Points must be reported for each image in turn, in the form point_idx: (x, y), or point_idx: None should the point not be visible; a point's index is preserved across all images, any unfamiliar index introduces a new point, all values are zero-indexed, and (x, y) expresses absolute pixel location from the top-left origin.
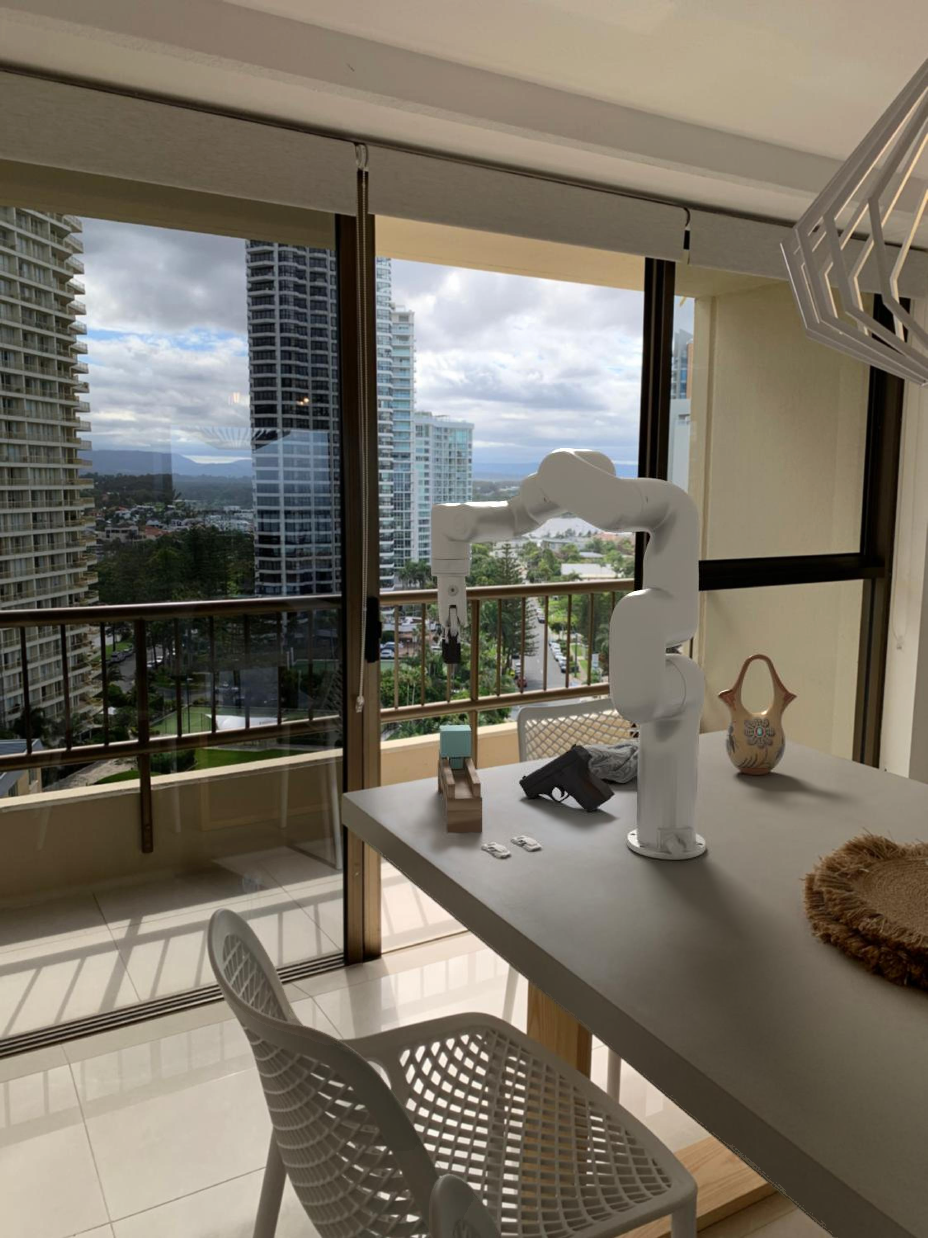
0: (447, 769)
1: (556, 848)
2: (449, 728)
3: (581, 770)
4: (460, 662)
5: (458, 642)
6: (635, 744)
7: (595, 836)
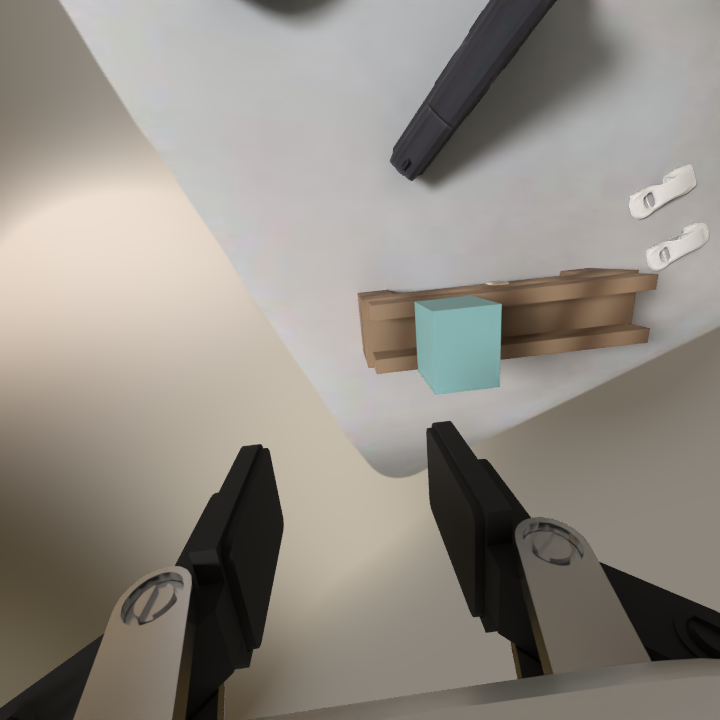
0: (546, 347)
1: (690, 137)
2: (470, 366)
3: None
4: (448, 422)
5: (567, 536)
6: None
7: (656, 42)
